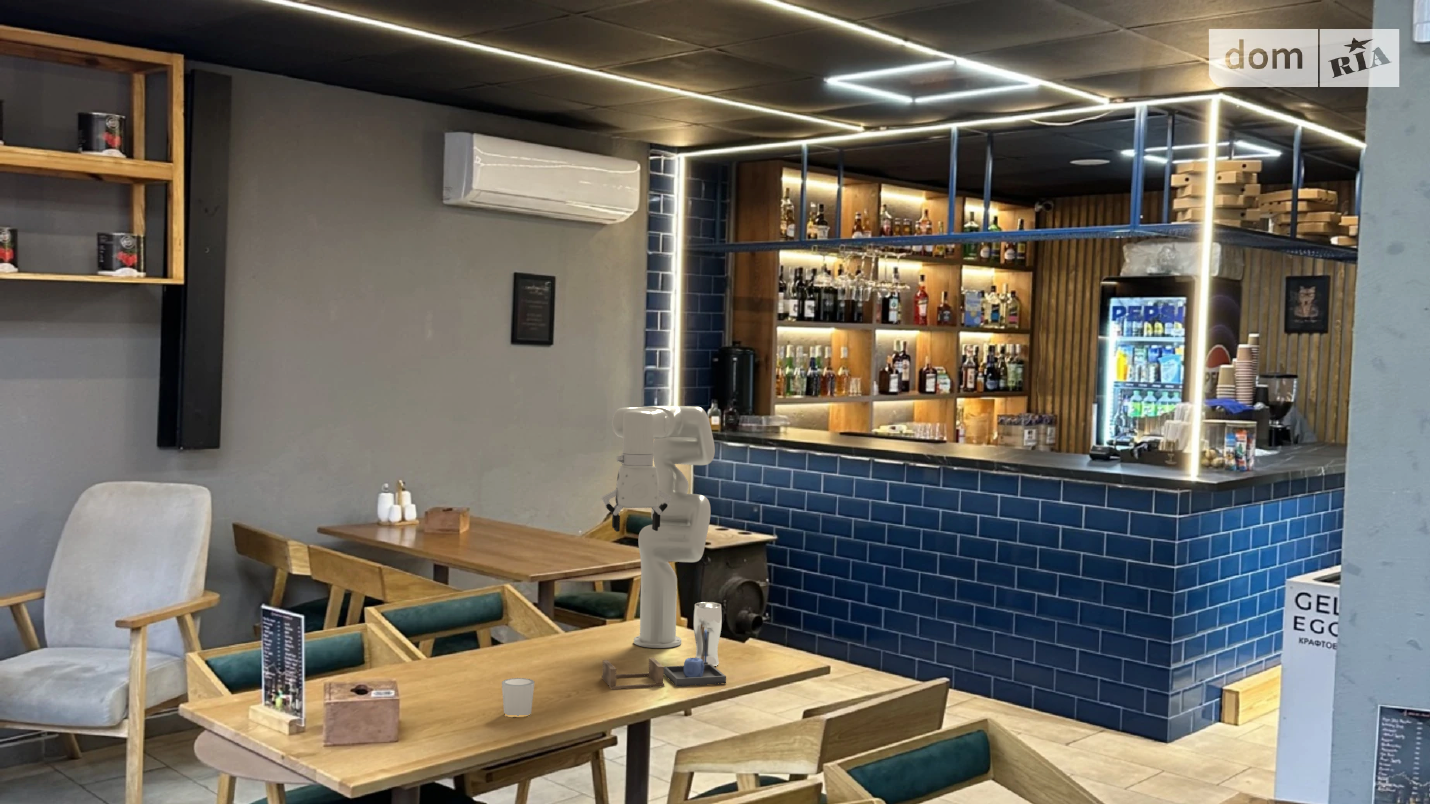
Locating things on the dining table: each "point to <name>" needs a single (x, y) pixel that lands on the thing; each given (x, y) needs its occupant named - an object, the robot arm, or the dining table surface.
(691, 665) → the decorative dice
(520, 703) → the white cup
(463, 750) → the dining table surface
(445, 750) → the dining table surface
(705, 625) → the beer glass
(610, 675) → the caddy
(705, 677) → the tray
